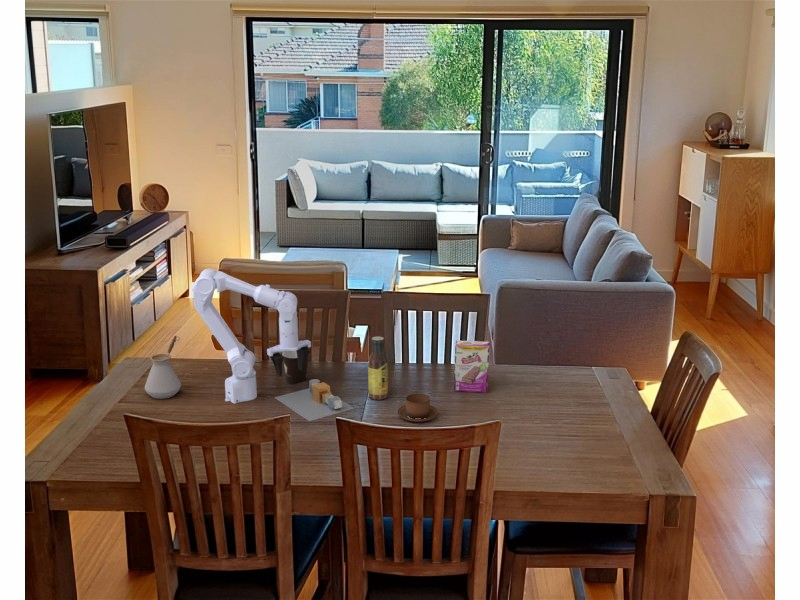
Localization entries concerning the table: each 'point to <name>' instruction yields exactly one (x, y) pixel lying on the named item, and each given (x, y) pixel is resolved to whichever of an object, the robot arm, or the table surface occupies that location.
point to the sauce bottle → (378, 370)
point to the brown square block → (320, 391)
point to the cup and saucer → (417, 408)
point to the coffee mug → (294, 368)
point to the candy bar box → (471, 366)
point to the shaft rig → (327, 397)
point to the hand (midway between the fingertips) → (290, 372)
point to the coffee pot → (162, 376)
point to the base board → (309, 405)
